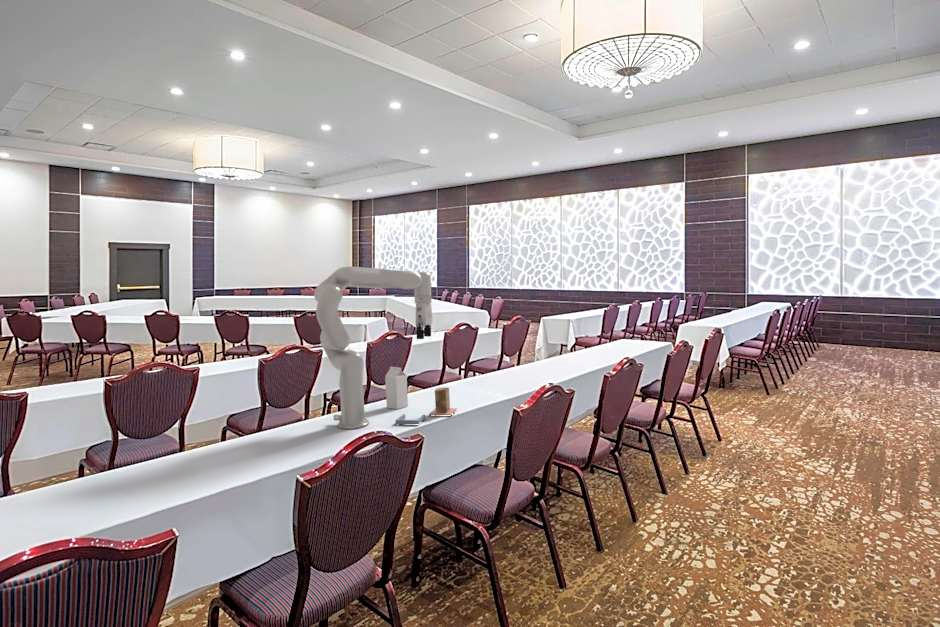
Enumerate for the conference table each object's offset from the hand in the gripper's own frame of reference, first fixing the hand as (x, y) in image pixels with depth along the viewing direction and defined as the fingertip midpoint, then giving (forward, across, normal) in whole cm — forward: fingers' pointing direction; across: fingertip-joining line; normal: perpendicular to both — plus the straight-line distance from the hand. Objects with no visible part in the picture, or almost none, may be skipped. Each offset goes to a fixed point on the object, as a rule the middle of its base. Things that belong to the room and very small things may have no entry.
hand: (424, 337), depth 243 cm
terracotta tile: (+33, -4, -10) cm, 35 cm away
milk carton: (+34, +4, +16) cm, 37 cm away
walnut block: (+32, -4, -10) cm, 34 cm away
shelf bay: (+34, -19, 0) cm, 38 cm away
